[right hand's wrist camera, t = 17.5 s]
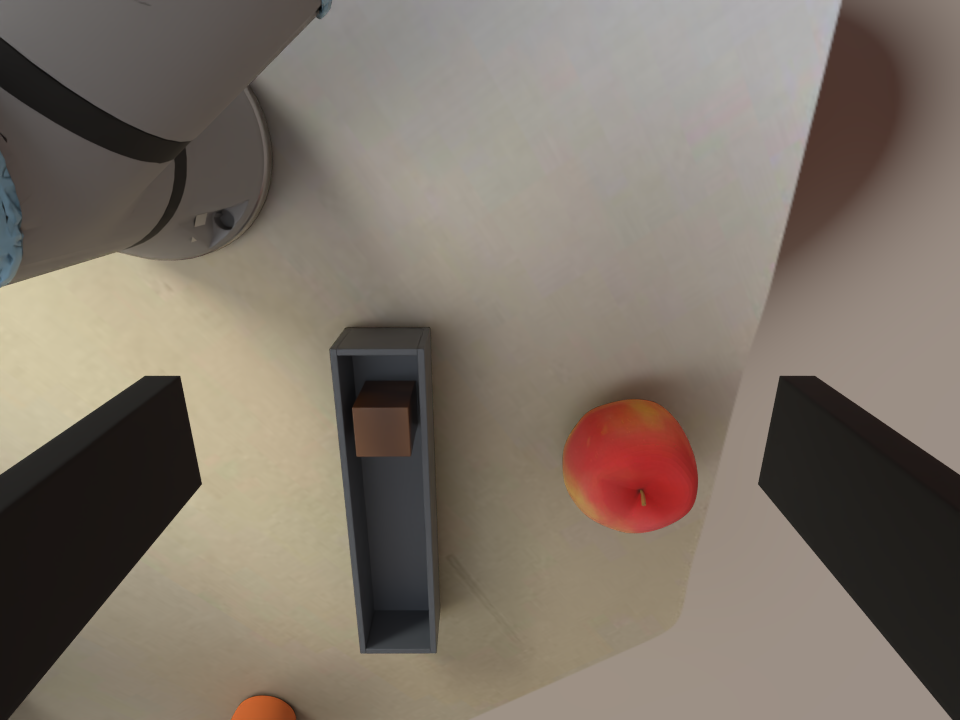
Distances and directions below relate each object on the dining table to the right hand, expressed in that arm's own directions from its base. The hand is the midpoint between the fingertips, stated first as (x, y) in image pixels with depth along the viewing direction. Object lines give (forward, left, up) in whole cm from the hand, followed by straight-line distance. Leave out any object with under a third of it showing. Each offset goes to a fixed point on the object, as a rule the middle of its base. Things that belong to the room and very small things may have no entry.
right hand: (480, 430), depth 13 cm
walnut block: (-7, -13, -30) cm, 34 cm away
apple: (+11, -16, -31) cm, 36 cm away
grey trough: (-7, -21, -31) cm, 38 cm away
